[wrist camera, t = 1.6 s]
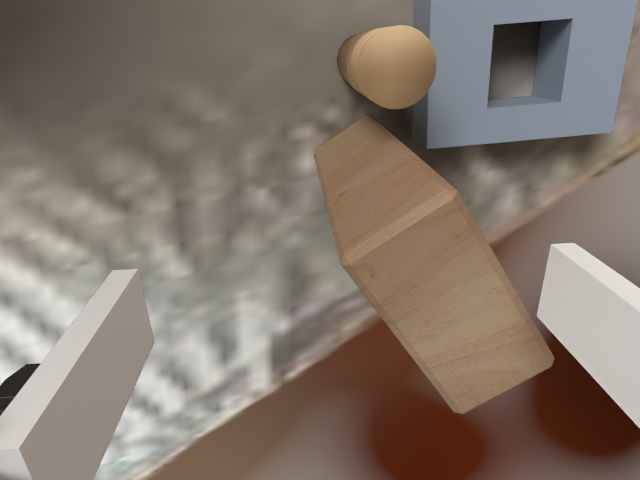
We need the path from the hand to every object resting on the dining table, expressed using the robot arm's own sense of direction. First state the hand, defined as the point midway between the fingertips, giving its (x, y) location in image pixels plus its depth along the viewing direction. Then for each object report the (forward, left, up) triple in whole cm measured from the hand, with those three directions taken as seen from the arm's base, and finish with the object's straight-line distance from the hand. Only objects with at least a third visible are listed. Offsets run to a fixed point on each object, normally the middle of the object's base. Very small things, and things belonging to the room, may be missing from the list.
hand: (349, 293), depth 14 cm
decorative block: (+4, +5, -24) cm, 25 cm away
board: (-5, +15, -24) cm, 29 cm away
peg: (-6, +4, -24) cm, 25 cm away
